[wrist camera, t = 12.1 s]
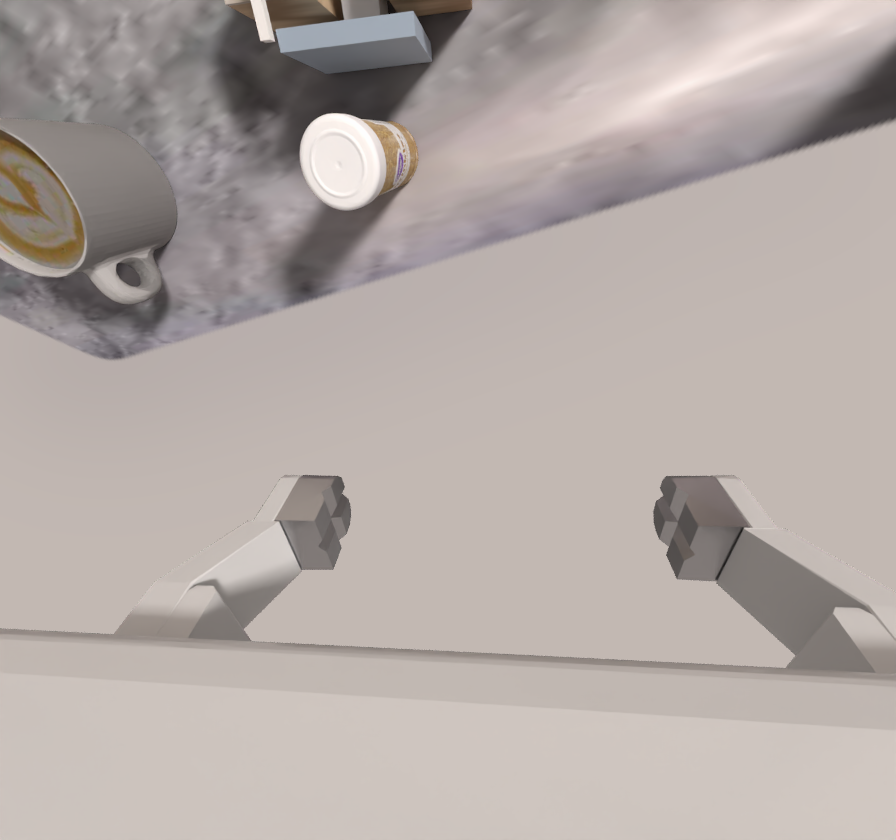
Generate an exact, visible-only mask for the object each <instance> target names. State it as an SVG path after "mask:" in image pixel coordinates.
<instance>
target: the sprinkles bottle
mask: <svg viewBox="0 0 896 840" xmlns="http://www.w3.org/2000/svg"><path fill="white" fill-rule="evenodd" d="M300 164H301V169H302V172H303V175H304V178H305V180H306V182H307V184H308V186H309V187H310V189H311V190H312V192H313V193H314V194H315V195H316V196H317V197H318V198H319V199H320V200H321V201H322V202H324V203H325V204H327V205H328V206H330V207H332V208H335V209H338V210H345V211H348V210H355V209H358V208H361V207H363V206H366V205H367V204H369V203H371V202H372V201H373V200H374V199H375V198H376V197H377V196H379V195H382V194H385V193H387V192H389V191H391V190H393V189H395V188H397V187H400V186H402V185H404V184H406V183H407V182H408V181H409V180H410V179H411V178H412V177H413V175H414V173H415V171H416V168H417V164H418V151H417V146H416V143H415V141H414V139H413V136H412V135H411V134H410V133H409V131H408V130H407V129H406V128H405V127H403V126H402V125H400V124H398V123H395V122H393V121H388V122H384V121H375V120H367V119H359V118H357V117H355V116H352V115H348V114H340V113H331V114H325V115H322V116H320V117H318V118H317V119H315V120H314V121H313V122H312V123H311V124H310V125H309V126H308V127H307V129H306V131H305V132H304V135H303V137H302V140H301V145H300Z"/></svg>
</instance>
